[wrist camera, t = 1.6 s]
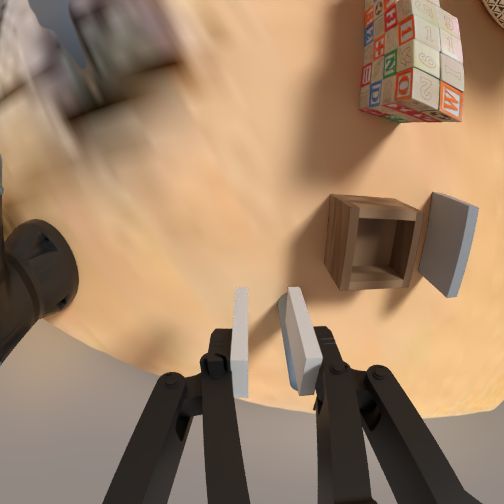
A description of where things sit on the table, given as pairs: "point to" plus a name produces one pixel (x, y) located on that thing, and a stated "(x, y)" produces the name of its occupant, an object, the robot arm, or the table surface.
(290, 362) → the dowel
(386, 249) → the slider block
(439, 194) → the wall
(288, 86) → the table surface
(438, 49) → the stack of blocks
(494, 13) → the planter
